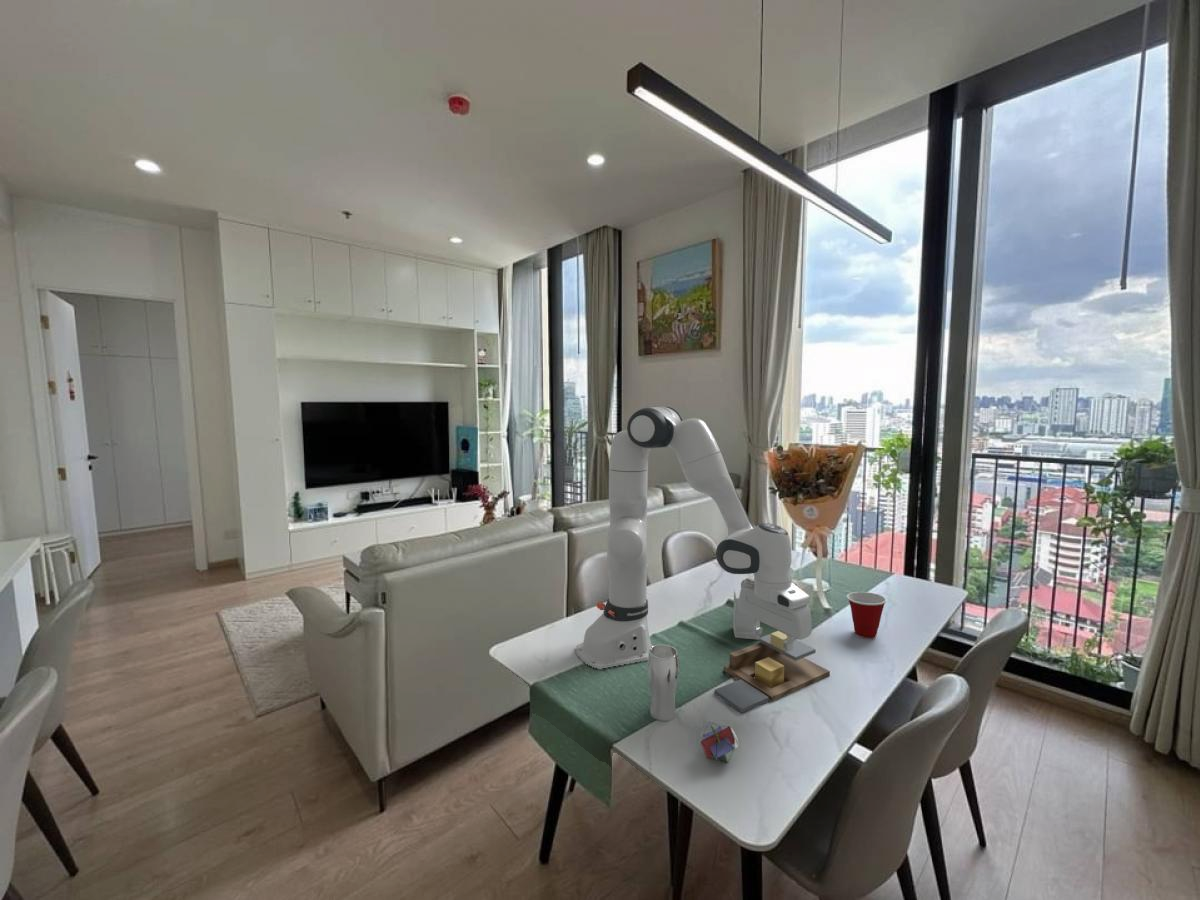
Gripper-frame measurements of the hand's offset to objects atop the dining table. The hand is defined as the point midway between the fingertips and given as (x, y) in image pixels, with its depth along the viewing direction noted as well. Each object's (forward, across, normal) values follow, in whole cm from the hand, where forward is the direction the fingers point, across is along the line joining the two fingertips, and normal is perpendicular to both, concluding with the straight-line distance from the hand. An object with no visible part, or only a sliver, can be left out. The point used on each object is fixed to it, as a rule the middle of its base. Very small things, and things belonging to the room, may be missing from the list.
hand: (772, 641), depth 124 cm
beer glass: (+10, -5, -32) cm, 34 cm away
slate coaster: (+11, 0, -12) cm, 16 cm away
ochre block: (+11, -1, -1) cm, 11 cm away
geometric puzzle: (+11, +12, -31) cm, 35 cm away
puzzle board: (+11, -3, +4) cm, 12 cm away
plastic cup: (+12, -4, +45) cm, 47 cm away
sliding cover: (+6, -3, +10) cm, 12 cm away
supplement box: (+11, -22, +14) cm, 29 cm away
